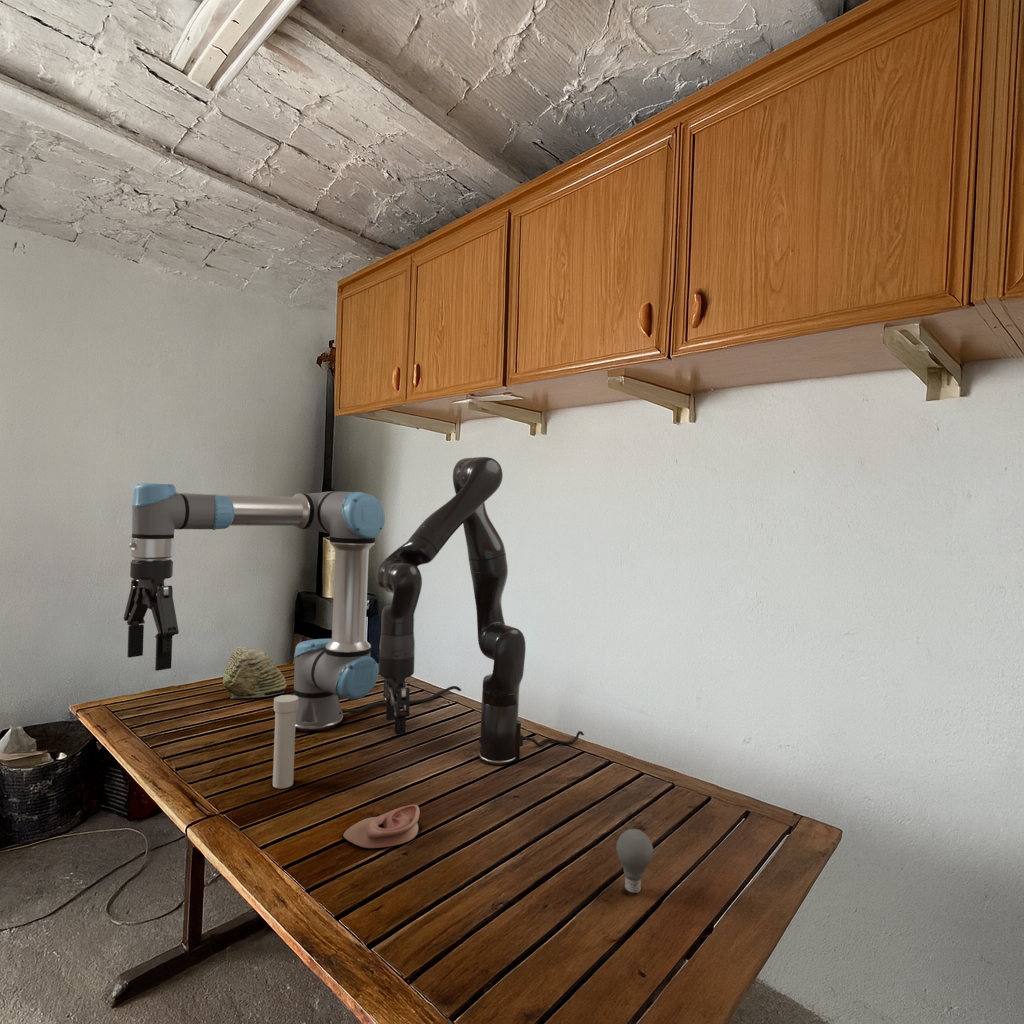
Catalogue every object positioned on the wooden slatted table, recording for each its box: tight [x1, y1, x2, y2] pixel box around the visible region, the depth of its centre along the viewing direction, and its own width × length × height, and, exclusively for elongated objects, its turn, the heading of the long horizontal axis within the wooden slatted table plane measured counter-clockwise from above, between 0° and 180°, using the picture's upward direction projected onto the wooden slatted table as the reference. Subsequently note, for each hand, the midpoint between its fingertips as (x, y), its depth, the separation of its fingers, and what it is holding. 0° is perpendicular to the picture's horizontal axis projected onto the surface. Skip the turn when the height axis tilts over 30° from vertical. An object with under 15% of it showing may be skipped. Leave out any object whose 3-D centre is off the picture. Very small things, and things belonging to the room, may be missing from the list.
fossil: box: [222, 646, 288, 699], centre depth 198 cm, size 9×18×15 cm, turn 132°
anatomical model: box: [342, 804, 421, 849], centre depth 120 cm, size 13×4×12 cm
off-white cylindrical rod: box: [272, 711, 296, 789], centre depth 139 cm, size 4×4×18 cm
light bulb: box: [615, 828, 654, 894], centre depth 106 cm, size 6×6×10 cm
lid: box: [273, 694, 298, 713], centre depth 138 cm, size 5×5×2 cm
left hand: (148, 662), depth 129 cm, fingers open, 13 cm apart
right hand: (395, 726), depth 138 cm, fingers open, 8 cm apart
